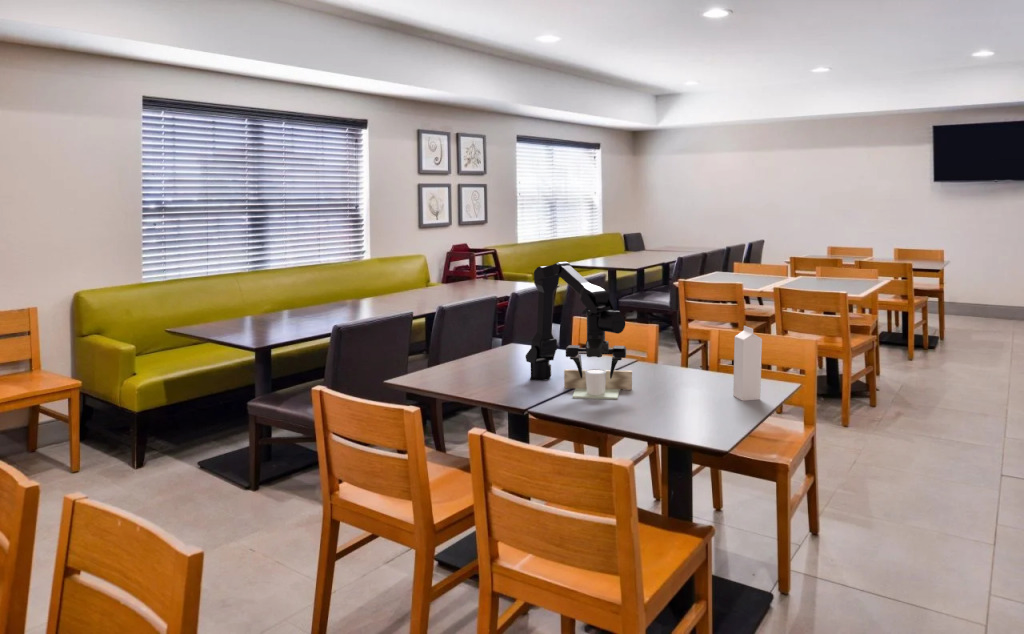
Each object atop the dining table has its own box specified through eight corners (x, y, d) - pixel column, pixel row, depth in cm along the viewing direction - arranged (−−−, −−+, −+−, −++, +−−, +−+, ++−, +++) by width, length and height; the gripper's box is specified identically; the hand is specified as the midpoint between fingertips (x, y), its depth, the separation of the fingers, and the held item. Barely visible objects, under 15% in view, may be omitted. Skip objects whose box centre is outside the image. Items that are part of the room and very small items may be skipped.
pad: (572, 398, 227) (572, 396, 227) (575, 390, 237) (575, 388, 237) (617, 399, 224) (617, 397, 224) (619, 391, 234) (619, 389, 234)
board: (564, 388, 240) (564, 370, 239) (564, 387, 241) (564, 369, 240) (631, 389, 235) (631, 371, 235) (631, 388, 237) (632, 370, 236)
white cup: (605, 395, 226) (605, 373, 225) (583, 395, 228) (583, 373, 227) (607, 390, 233) (607, 369, 232) (586, 389, 235) (585, 368, 233)
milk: (750, 394, 226) (753, 325, 223) (760, 399, 220) (763, 328, 217) (732, 396, 225) (734, 325, 222) (741, 401, 219) (744, 329, 216)
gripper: (563, 333, 221) (563, 383, 224) (625, 334, 218) (625, 385, 220) (567, 327, 232) (567, 375, 234) (626, 328, 229) (626, 376, 231)
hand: (596, 378), depth 230 cm, fingers open, 9 cm apart
